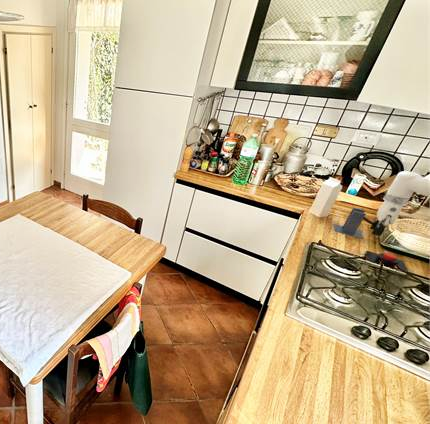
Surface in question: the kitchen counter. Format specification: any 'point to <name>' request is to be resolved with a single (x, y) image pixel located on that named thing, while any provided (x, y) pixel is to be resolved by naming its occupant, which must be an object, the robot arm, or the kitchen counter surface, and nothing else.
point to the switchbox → (385, 260)
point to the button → (389, 256)
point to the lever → (369, 221)
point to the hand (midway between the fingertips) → (375, 231)
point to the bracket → (352, 224)
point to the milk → (326, 197)
